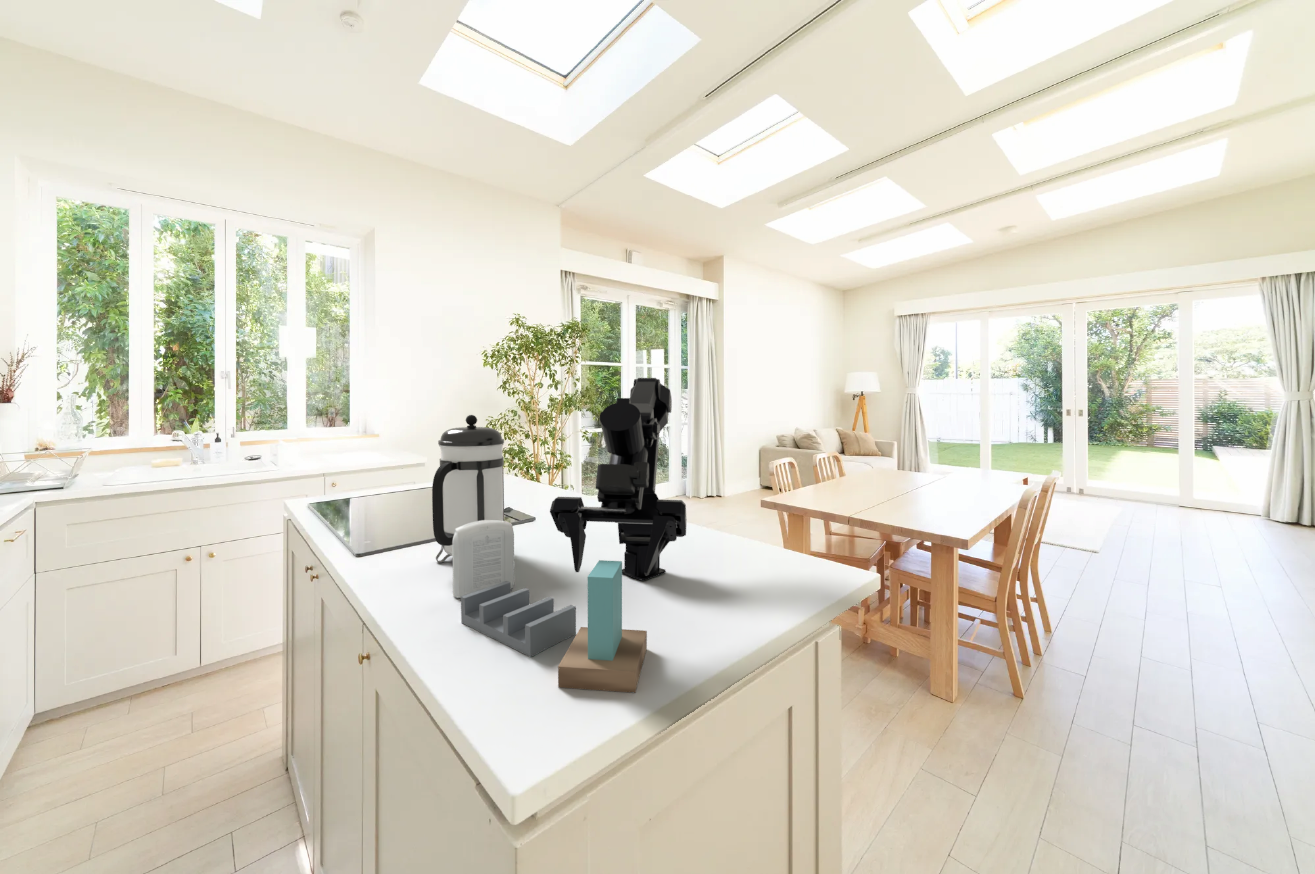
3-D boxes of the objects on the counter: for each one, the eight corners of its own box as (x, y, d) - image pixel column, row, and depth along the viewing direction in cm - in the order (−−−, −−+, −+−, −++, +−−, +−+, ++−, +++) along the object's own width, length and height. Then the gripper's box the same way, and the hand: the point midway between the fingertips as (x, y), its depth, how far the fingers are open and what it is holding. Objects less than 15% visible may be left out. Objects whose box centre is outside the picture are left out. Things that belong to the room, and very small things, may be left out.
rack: (507, 605, 79) (506, 581, 79) (575, 633, 70) (575, 606, 69) (461, 622, 73) (460, 596, 73) (530, 657, 63) (529, 627, 63)
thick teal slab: (599, 635, 64) (599, 560, 63) (621, 636, 64) (622, 561, 63) (587, 659, 58) (587, 576, 57) (612, 660, 58) (612, 577, 57)
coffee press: (427, 552, 106) (423, 414, 104) (502, 542, 114) (500, 413, 112) (434, 578, 91) (430, 416, 89) (521, 564, 99) (519, 415, 97)
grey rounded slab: (510, 581, 90) (509, 514, 89) (518, 588, 86) (517, 519, 85) (450, 593, 84) (449, 522, 83) (455, 601, 81) (454, 527, 80)
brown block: (580, 644, 67) (580, 626, 66) (646, 648, 66) (646, 630, 65) (558, 687, 57) (558, 666, 57) (635, 692, 56) (635, 671, 56)
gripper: (553, 440, 69) (524, 538, 59) (686, 442, 67) (680, 544, 57) (569, 486, 77) (547, 579, 67) (688, 489, 75) (683, 586, 65)
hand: (611, 572), depth 64 cm, fingers open, 9 cm apart
